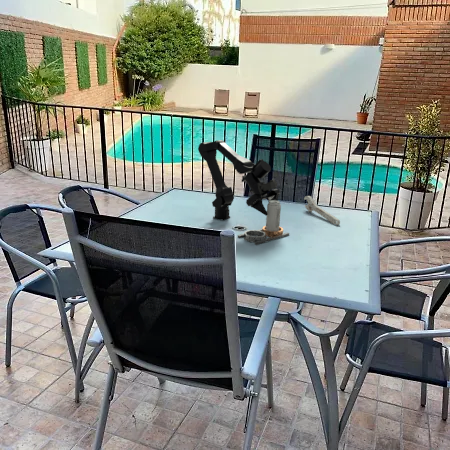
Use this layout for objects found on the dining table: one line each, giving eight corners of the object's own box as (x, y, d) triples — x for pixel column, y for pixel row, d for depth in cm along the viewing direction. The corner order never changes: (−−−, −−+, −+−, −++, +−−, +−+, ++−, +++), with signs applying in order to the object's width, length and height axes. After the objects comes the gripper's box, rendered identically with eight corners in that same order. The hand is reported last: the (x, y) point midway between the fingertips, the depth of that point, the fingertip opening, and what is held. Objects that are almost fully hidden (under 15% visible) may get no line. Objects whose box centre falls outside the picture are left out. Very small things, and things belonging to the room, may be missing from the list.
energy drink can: (268, 230, 197) (270, 199, 192) (280, 233, 195) (283, 201, 190) (263, 234, 192) (265, 202, 187) (276, 236, 189) (278, 204, 185)
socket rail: (256, 245, 179) (256, 239, 178) (237, 237, 187) (237, 232, 186) (289, 235, 192) (289, 230, 191) (270, 228, 200) (270, 223, 200)
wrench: (335, 231, 210) (302, 208, 234) (338, 230, 210) (304, 207, 235) (338, 216, 206) (304, 194, 231) (341, 215, 207) (307, 194, 232)
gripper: (253, 176, 182) (272, 207, 178) (278, 171, 195) (296, 199, 192) (238, 191, 189) (256, 220, 186) (263, 185, 203) (280, 212, 199)
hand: (273, 213), depth 190 cm, fingers open, 9 cm apart
